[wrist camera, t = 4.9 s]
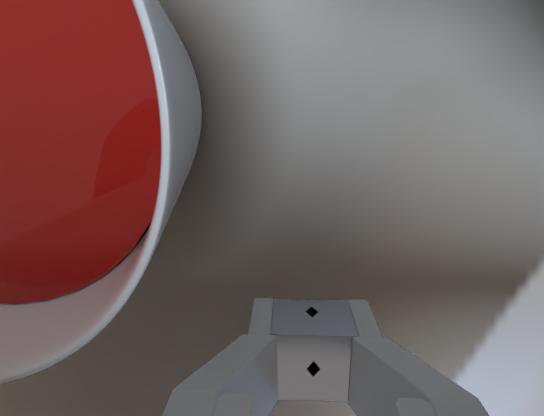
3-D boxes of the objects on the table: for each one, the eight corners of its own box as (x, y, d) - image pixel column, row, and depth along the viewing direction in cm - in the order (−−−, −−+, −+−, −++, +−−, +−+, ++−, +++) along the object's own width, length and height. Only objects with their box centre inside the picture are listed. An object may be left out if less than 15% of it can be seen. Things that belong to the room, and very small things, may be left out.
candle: (-7, -146, 9) (-661, -691, 3) (295, 47, 10) (306, -40, 4) (-84, 158, 11) (-514, 223, 5) (163, 287, 12) (41, 467, 6)
